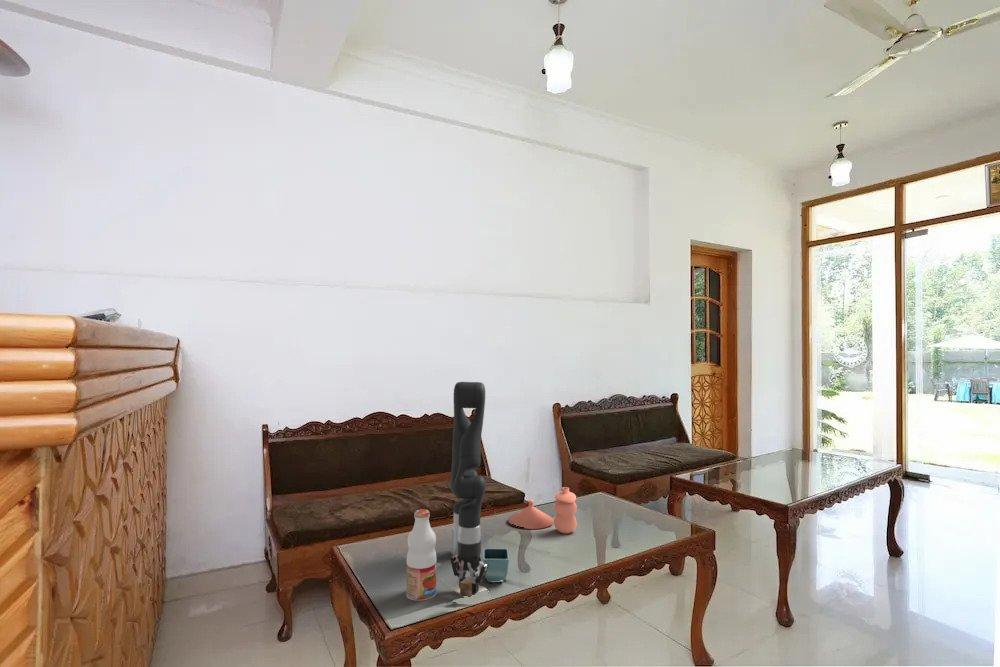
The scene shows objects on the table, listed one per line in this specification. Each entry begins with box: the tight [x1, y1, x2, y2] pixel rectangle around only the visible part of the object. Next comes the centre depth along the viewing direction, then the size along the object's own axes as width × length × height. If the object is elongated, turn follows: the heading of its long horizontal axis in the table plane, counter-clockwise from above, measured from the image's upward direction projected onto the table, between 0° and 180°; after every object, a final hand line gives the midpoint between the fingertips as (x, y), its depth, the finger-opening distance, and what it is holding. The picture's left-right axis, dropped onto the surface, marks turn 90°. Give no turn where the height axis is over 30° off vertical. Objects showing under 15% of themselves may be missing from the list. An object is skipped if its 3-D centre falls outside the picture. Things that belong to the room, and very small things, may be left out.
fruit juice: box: [405, 509, 437, 601], centre depth 157 cm, size 9×9×28 cm
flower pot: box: [482, 548, 510, 583], centre depth 170 cm, size 9×9×9 cm
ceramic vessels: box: [507, 486, 578, 534], centre depth 223 cm, size 35×21×19 cm, turn 47°
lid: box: [452, 577, 488, 597], centre depth 158 cm, size 13×13×5 cm
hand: (468, 591), depth 158 cm, fingers closed on lid, 4 cm apart
